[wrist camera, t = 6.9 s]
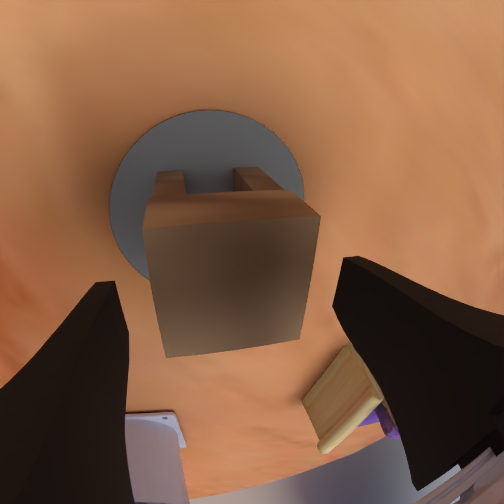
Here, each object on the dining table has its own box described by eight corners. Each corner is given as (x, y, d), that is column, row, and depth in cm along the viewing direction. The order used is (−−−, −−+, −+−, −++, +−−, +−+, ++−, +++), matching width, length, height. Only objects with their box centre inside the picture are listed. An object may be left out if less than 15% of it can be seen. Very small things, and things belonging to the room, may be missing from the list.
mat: (127, 295, 16) (127, 302, 16) (102, 118, 11) (99, 119, 11) (290, 278, 19) (293, 284, 18) (307, 113, 14) (312, 114, 13)
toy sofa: (293, 400, 27) (331, 486, 19) (339, 341, 24) (398, 438, 15) (411, 386, 35) (446, 437, 27) (448, 342, 32) (491, 394, 23)
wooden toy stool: (163, 263, 15) (166, 357, 10) (154, 170, 13) (142, 228, 7) (255, 255, 16) (299, 338, 11) (260, 164, 14) (320, 216, 9)
